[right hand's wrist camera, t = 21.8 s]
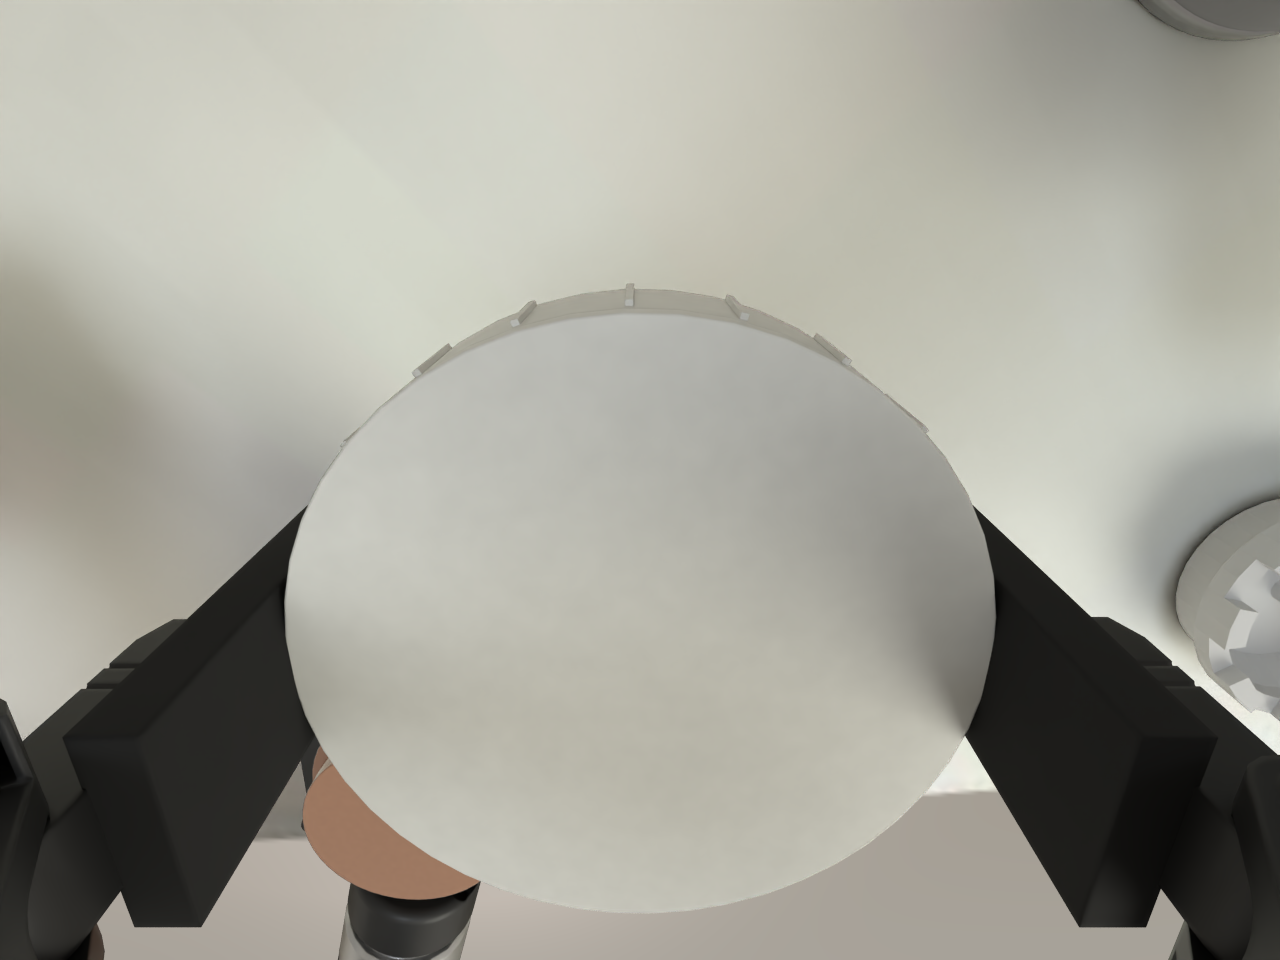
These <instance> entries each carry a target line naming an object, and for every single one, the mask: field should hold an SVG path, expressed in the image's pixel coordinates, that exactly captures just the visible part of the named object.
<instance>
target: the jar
mask: <svg viewBox="0 0 1280 960" xmlns="http://www.w3.org/2000/svg"><path fill="white" fill-rule="evenodd" d="M303 824H304V829H305V832H306V835H307V838H308V841H309V842H310V844H311V846H312V848H313V850H314V851H315V852H316V854H317V855H318V856H319V858H320V859H321V860H322V861H323V862H324V863H325V864H326V865H327V866H328V867H329V868H330V869H331V870H333V871H334V872H335V873H336V874H338V875H339V876H341V877H342V878H344V879H345V880H347V881H348V882H350V883H352V884H354V885H356V886H358V887H360V888H363V889H365V890H368V891H370V892H373V893H376V894H380V895H383V896H388V897H393V898H400V899H413V900H423V899H434V898H440V897H446V896H449V895H453V894H456V893H459V892H461V891H464V890H466V889H468V888H470V887H472V886H474V885H475V884H477V883H478V882H480V881H479V880H476V879H474V878H472V877H469V876H467V875H464V874H463V873H461V872H459V871H457V870H455V869H453V868H452V867H450V866H448V865H446V864H444V863H442V862H441V861H439V860H437V859H435V858H433V857H431V856H430V855H428V854H427V853H425V852H424V851H422V850H421V849H420V848H418V847H417V846H415V845H414V844H412V843H411V842H409V841H408V840H407V839H405V838H404V837H402V836H401V835H399V834H398V833H397V832H396V831H395V830H394V829H392V828H391V827H390V826H389V825H388V824H387V823H385V822H384V821H383V820H382V819H381V818H380V817H379V816H377V815H376V814H375V813H374V812H373V811H372V810H370V808H369V807H368V806H367V805H366V804H365V803H364V802H363V801H362V800H361V798H360V797H359V796H358V795H357V794H356V793H355V792H354V791H353V790H352V789H351V787H350V786H349V785H348V784H347V783H346V782H345V781H344V779H343V778H342V776H341V775H340V774H339V772H338V771H337V769H336V768H335V766H334V765H333V764H332V762H331V761H330V759H329V758H328V756H327V755H326V754H325V752H324V751H323V749H322V747H321V745H320V747H319V748H318V751H317V753H316V756H315V759H314V764H313V782H312V784H311V786H310V788H309V789H308V791H307V794H306V797H305V800H304V805H303Z"/></svg>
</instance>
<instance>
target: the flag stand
mask: <svg viewBox="0 0 1280 960" xmlns="http://www.w3.org/2000/svg"><path fill="white" fill-rule="evenodd" d="M1176 611H1177V615H1178V618H1179V622H1180V624H1181V626H1182V627H1183V629H1184V631H1185V632H1186V634H1187V635H1188V636H1189V637H1190V638H1191V639H1192V640H1193V641H1194V645H1195V649H1196V653H1197V656H1198V660H1199V662H1200V664H1201V665H1202V667H1203V668H1204V670H1205V672H1206V673H1207V675H1208V676H1209V677H1210V678H1211V679H1213V680H1214V681H1215V682H1216V683H1217V684H1218V685H1219V686H1220V687H1221V688H1222V689H1224V690H1225V691H1226V692H1227V693H1228V694H1229V695H1231V696H1232V697H1233V698H1234V699H1235V700H1237V701H1238V702H1239V703H1240V704H1241V705H1242V706H1244V707H1245V708H1246V709H1247V710H1248V711H1249V712H1251V713H1252V712H1253V711H1254V710H1255V709H1256V710H1260V711H1264V712H1267V713H1270V714H1272V715H1273V716H1274V717H1275V718H1276V719H1278V720H1279V721H1280V499H1276V500H1272V501H1268V502H1264V503H1261V504H1259V505H1257V506H1254V507H1252V508H1249V509H1247V510H1244V511H1243V512H1241V513H1239V514H1238V515H1236V516H1234V517H1232V518H1231V519H1229V520H1227V521H1226V522H1225V523H1223V524H1222V525H1221V526H1220V527H1218V528H1217V529H1216V530H1215V531H1213V532H1212V533H1211V534H1210V535H1209V536H1208V537H1207V538H1206V539H1205V540H1204V541H1203V542H1202V543H1201V544H1200V545H1199V546H1198V547H1197V549H1196V550H1195V552H1194V553H1193V555H1192V556H1191V557H1190V559H1189V560H1188V562H1187V563H1186V565H1185V568H1184V570H1183V572H1182V574H1181V577H1180V579H1179V583H1178V587H1177V592H1176Z"/></svg>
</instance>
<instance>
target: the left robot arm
mask: <svg viewBox="0 0 1280 960" xmlns="http://www.w3.org/2000/svg"><path fill="white" fill-rule="evenodd" d="M319 747H320V743H319V741H318V739H317V737H316V736H315V737H314V739H313V740H312V742H311V744H310V745H309V747H308V749H307V750H306V752H305V754H304V756H303V757H302V759H301V764H302V770H303V775H304V781H305V787H306V793H307V791H308V789H309V788H310V786H311V784H312V782H313V764H314V759H315V756H316V753H317V751H318V748H319ZM301 827H302V829H303V830H304V831H305V829H304V824H303V820H302V823H301ZM480 882H481V881H480ZM480 882H478V883H477V884H475V885H474V886H472V887H470V888H468V889H466V890H464V891H461V892H459V893H456V894H453V895H449V896H446V897H440V898H434V899H423V900H413V899H400V898H393V897H388V896H383V895H380V894H376V893H373V892H370V891H368V890H365V889H363V888H360V887H358V886H356V885H354V884H352V883H351V884H350V890H349V896H348V904H347V907H346V913H345V919H344V926H343V932H342V938H341V944H340V949H339V957H338V960H460V957H461V953H462V950H463V946H464V942H465V938H466V935H467V931H468V927H469V923H470V917H471V915H472V911H473V908H474V904H475V901H476V897H477V893H478V889H479V886H480Z"/></svg>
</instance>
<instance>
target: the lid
mask: <svg viewBox="0 0 1280 960" xmlns="http://www.w3.org/2000/svg"><path fill="white" fill-rule="evenodd" d="M851 361H852V360H851V359H849V358H848V357H847V356H846V355H844V354H843V353H842V352H841V351H839V350H838V349H837V348H836V347H834V346H833V345H832V344H831V343H829V342H828V341H827V340H826V339H824V338H823V337H822V336H820V335H819V334H816V335H815V336H814V338H812V337H810V336H809V335H807V334H806V333H804V332H803V331H801V330H800V329H798V328H796V327H794V326H791V325H789V324H787V323H785V322H783V321H781V320H779V319H776V318H774V317H772V316H770V315H768V314H766V313H763V312H761V311H759V310H756V309H753V308H750V307H746V306H743V305H741V304H740V303H739V302H738V301H737V300H736V299H735V298H734V296H730V295H727V296H726V299H725V300H723V299H720V298H717V297H711V296H705V295H699V294H693V293H687V292H681V291H675V290H651V289H634V284H627V286H626V289H620V290H611V291H602V292H593V293H584V294H578V295H574V296H570V297H566V298H562V299H558V300H554V301H550V302H546V303H542V304H538V305H537V304H536V302H535V300H534V301H531V302H528V303H527V304H526V305H525V306H524V307H523V308H522V309H521V310H520V311H519V312H518V313H516V314H513V315H511V316H508V317H506V318H503V319H500V320H498V321H496V322H494V323H493V324H491V325H489V326H487V327H486V328H484V329H482V330H480V331H479V332H477V333H475V334H473V335H472V336H470V337H468V338H466V339H465V340H463V341H461V342H459V343H458V344H457V345H456V346H454V347H453V348H452V347H451V346H450V345H449V344H447V345H445V346H444V347H443V348H442V349H440V350H439V351H438V352H437V353H435V354H434V355H433V356H431V357H430V358H429V359H428V360H426V361H425V362H424V363H423V364H421V365H420V366H419V367H418V368H416V369H415V370H414V371H413V372H412V374H413V375H414V377H415V378H414V379H413V380H412V381H411V382H409V383H408V384H407V385H406V386H405V387H403V388H402V389H401V390H400V391H399V392H397V393H396V394H395V395H394V396H393V397H391V398H390V399H389V400H388V401H387V402H385V403H384V404H383V405H382V406H380V407H379V408H378V409H377V411H376V412H375V413H374V414H373V415H372V416H371V417H370V418H369V419H368V420H367V421H366V422H365V423H364V424H363V425H362V426H361V427H360V428H359V429H357V430H356V431H355V432H354V433H353V434H351V435H350V436H349V437H348V438H347V439H346V440H344V442H343V443H342V444H341V447H342V449H341V451H340V452H339V454H338V455H337V457H336V458H335V459H334V461H333V462H332V464H331V465H330V467H329V468H328V470H327V471H326V472H325V474H324V475H323V477H322V478H321V480H320V482H319V484H318V486H317V488H316V490H315V492H314V494H313V496H312V498H311V500H310V503H309V505H308V507H307V509H306V511H305V513H304V515H303V517H302V519H301V523H300V526H299V529H298V533H297V536H296V540H295V543H294V546H293V550H292V553H291V556H290V560H289V568H288V576H287V583H286V591H285V599H284V609H285V636H286V642H287V647H288V651H289V656H290V661H291V666H292V670H293V675H294V680H295V684H296V688H297V692H298V696H299V699H300V702H301V705H302V708H303V710H304V713H305V716H306V718H307V720H308V722H309V724H310V726H311V728H312V730H313V732H314V734H315V736H316V737H317V739H318V741H319V743H320V745H321V747H322V749H323V751H324V752H325V754H326V755H327V756H328V758H329V759H330V761H331V762H332V764H333V765H334V766H335V768H336V769H337V771H338V772H339V774H340V775H341V776H342V778H343V779H344V781H345V782H346V783H347V784H348V785H349V786H350V787H351V789H352V790H353V791H354V792H355V793H356V794H357V795H358V796H359V797H360V798H361V800H362V801H363V802H364V803H365V804H366V805H367V806H368V807H369V808H370V810H372V811H373V812H374V813H375V814H376V815H377V816H379V817H380V818H381V819H382V820H383V821H384V822H385V823H387V824H388V825H389V826H390V827H391V828H392V829H394V830H395V831H396V832H397V833H398V834H399V835H401V836H402V837H404V838H405V839H407V840H408V841H409V842H411V843H412V844H414V845H415V846H417V847H418V848H420V849H421V850H422V851H424V852H425V853H427V854H428V855H430V856H431V857H433V858H435V859H437V860H439V861H441V862H442V863H444V864H446V865H448V866H450V867H452V868H453V869H455V870H457V871H459V872H461V873H463V874H464V875H467V876H469V877H472V878H474V879H476V880H479V881H481V882H484V883H486V884H489V885H491V886H493V887H496V888H498V889H501V890H504V891H507V892H511V893H514V894H517V895H520V896H524V897H527V898H530V899H533V900H537V901H541V902H546V903H551V904H556V905H561V906H566V907H571V908H576V909H585V910H594V911H603V912H612V913H662V912H676V911H689V910H696V909H702V908H708V907H714V906H720V905H726V904H730V903H734V902H738V901H742V900H745V899H749V898H753V897H756V896H760V895H764V894H767V893H770V892H773V891H775V890H778V889H781V888H783V887H786V886H789V885H791V884H794V883H797V882H799V881H802V880H804V879H806V878H808V877H810V876H812V875H814V874H816V873H818V872H820V871H822V870H824V869H826V868H829V867H831V866H833V865H835V864H837V863H838V862H840V861H841V860H843V859H845V858H846V857H848V856H849V855H851V854H853V853H854V852H856V851H857V850H859V849H860V848H862V847H864V846H865V845H867V844H868V843H870V842H871V841H872V840H874V839H875V838H876V837H877V836H879V835H880V834H881V833H882V832H884V831H885V830H886V829H887V828H889V827H890V826H891V825H892V824H894V823H895V822H896V821H897V820H899V819H900V818H901V817H902V816H903V815H904V814H905V813H906V812H907V811H908V810H909V809H910V808H911V807H912V806H913V805H914V804H915V803H916V802H917V801H918V800H919V799H920V798H921V797H922V796H923V795H924V794H925V793H926V791H927V790H928V789H929V788H930V786H931V785H932V784H933V782H934V781H935V780H936V779H937V777H938V776H939V775H940V773H941V772H942V771H943V770H944V768H945V767H946V766H947V764H948V763H949V762H950V760H951V758H952V757H953V755H954V753H955V751H956V750H957V748H958V746H959V745H960V743H961V741H962V740H963V738H964V736H965V734H966V733H967V731H968V729H969V727H970V724H971V722H972V720H973V717H974V715H975V712H976V710H977V707H978V705H979V703H980V700H981V697H982V693H983V688H984V684H985V680H986V675H987V671H988V666H989V662H990V657H991V652H992V647H993V642H994V636H995V625H996V606H995V590H994V575H993V571H992V566H991V562H990V558H989V553H988V549H987V544H986V540H985V535H984V533H983V530H982V528H981V525H980V523H979V520H978V518H977V515H976V513H975V511H974V508H973V506H972V503H971V501H970V498H969V496H968V494H967V492H966V490H965V489H964V487H963V486H962V484H961V482H960V481H959V479H958V477H957V476H956V474H955V472H954V471H953V469H952V467H951V466H950V464H949V462H948V461H947V459H946V457H945V456H944V455H943V454H942V452H941V451H940V450H939V449H938V448H937V446H936V445H935V444H934V443H933V442H932V440H931V439H930V438H929V437H928V436H927V434H926V433H927V432H928V429H927V428H926V426H925V425H924V424H922V423H921V422H920V421H919V420H917V419H916V418H915V417H914V416H913V415H911V414H910V413H909V412H908V411H907V410H905V409H904V408H903V407H902V406H900V405H899V404H898V403H897V402H896V401H894V400H893V399H892V398H891V397H889V396H888V395H887V394H884V393H883V392H882V391H881V390H879V389H878V388H877V387H876V386H875V385H874V384H872V383H871V382H870V381H869V380H867V379H866V378H865V377H864V376H863V375H861V374H860V373H859V372H858V371H857V370H855V369H854V368H853V367H852V366H850V365H849V364H850V363H851Z"/></svg>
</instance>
